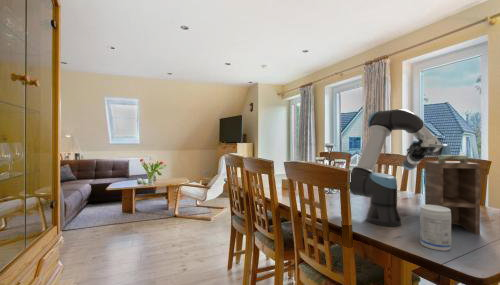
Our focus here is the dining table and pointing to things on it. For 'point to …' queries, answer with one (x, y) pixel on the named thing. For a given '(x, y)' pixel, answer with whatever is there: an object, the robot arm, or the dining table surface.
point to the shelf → (455, 189)
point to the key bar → (431, 143)
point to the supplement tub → (435, 227)
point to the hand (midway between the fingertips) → (430, 137)
